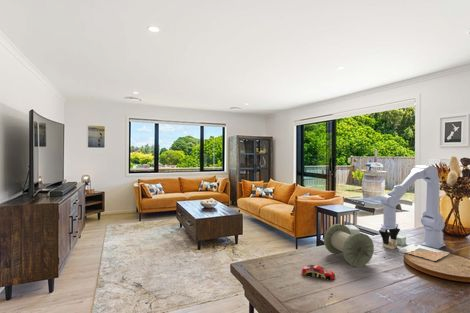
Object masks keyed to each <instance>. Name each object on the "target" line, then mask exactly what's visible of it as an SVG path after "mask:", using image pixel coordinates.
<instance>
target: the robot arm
mask: <svg viewBox="0 0 470 313" xmlns="http://www.w3.org/2000/svg"><path fill="white" fill-rule="evenodd" d="M421 179H422V180H424V181H425V182H426V206H425V209H426V210H425V211H423V213H422V216H421V218H420V223H421V225H423V229H424V230H423V231H424V233H423V235H424V240H423V241H424V242H422V243H420V245H421V246H425V247H429V248H433V249H437V250H440V249H441V248H442V247H444V246H446V244H445V243H444V232H443V230H444V228H445V226H446V224H445V221H444V216H443V215H442V214H441V213H440V185H441V181H440V177H439V169H437V168H436V167H435V166H434V165H424V164H423V165H421V164H417V165H414V166H413V168H412V169H411V171H410V173H409V174H408V176H406V178H405V179H404V180H403V181H402V182H401V184H396V185H394V186H393V188H392V189H391V190H390V191H389V192H387V194H384V195H383V196H382V198H381V199H380V203H381V204H382V207H383V209H382V210H383V223H382V224H381V227H380V229H379V230H378V232H379V234H380V236H381V240H382V244H383V243H384V244H386V245H388V243H389V238H390V239H394V240H396V238H397V235H399V234H400V233H399V232H401V229H400V228H399V223H397V219H396V218H397V217H396V216H397V214H396V212H397V210H396V209H397V206H398V205H399V203H400V202H399V201H400V199H402V197H404V195H405V194H406V193H407V191H408V190H407V189H408V188H409V187H410V186H412V185H413V184H414V183H415V182H416V181H417V180H421Z"/></svg>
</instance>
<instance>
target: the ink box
mask: <svg viewBox="0 0 470 313" xmlns="http://www.w3.org/2000/svg"><path fill="white" fill-rule="evenodd" d="M344 226H346V227H347V228H348V229H349V230H350V233H351V235H352V234H353V233H358V232H360V231H361V230H360V229H359V227H357V226H355V225H354V224H345V225H344Z"/></svg>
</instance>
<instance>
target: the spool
mask: <svg viewBox="0 0 470 313" xmlns="http://www.w3.org/2000/svg"><path fill="white" fill-rule="evenodd" d="M323 244H324V247H325V249H327V251H328V252H329V253H331V254H334V255H336V254H337V255H343V257H344V259H345V261H346V262H347V263H348V264H349V265H350V266H353V267H356V268H358V267H364V266H365V265H367V264H369V262H370V261H371V259H373V255H374V252H375V249H374V248H375V247H374V246H375V245H374V242H373V240H372V238H371V237H370V236H369V235H368V234H365V233H363V232H358V233H353V234H352V235H351V233H350V230H349V229H348V228H347V227H346V226H345V225H344V224H341V223H334V224H332V225H331V226H328V228H327V229H326V231H325V233H324V236H323Z"/></svg>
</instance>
